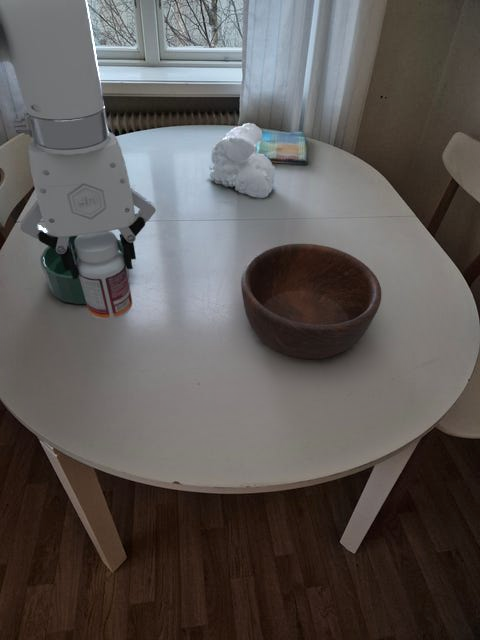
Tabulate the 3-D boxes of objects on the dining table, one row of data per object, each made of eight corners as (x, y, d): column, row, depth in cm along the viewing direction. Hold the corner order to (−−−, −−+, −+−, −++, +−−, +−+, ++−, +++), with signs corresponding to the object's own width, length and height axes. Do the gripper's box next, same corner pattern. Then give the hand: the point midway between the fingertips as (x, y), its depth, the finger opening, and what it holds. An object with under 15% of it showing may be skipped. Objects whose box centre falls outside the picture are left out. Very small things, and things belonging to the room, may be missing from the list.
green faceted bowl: (53, 313, 84) (43, 285, 79) (48, 266, 95) (38, 239, 90) (136, 295, 88) (131, 267, 84) (122, 253, 99) (117, 226, 94)
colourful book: (304, 138, 155) (305, 131, 153) (308, 165, 137) (309, 157, 136) (257, 136, 155) (257, 128, 153) (255, 162, 138) (255, 155, 136)
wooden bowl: (263, 384, 72) (267, 342, 65) (225, 293, 90) (225, 251, 83) (393, 356, 78) (410, 314, 71) (334, 275, 95) (343, 235, 88)
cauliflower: (288, 175, 111) (226, 125, 107) (245, 228, 123) (188, 185, 119) (298, 151, 125) (243, 106, 121) (258, 201, 138) (208, 161, 133)
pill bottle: (131, 291, 64) (119, 224, 56) (134, 318, 60) (121, 250, 52) (88, 296, 63) (70, 228, 55) (88, 324, 58) (68, 255, 51)
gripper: (-25, 149, 39) (32, 298, 52) (161, 132, 44) (173, 272, 57) (-20, 121, 44) (31, 264, 57) (146, 109, 49) (160, 242, 62)
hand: (101, 267), depth 57 cm, fingers closed on pill bottle, 6 cm apart
